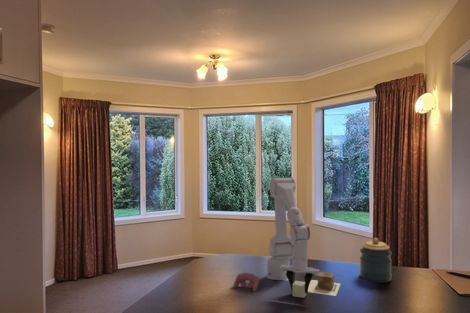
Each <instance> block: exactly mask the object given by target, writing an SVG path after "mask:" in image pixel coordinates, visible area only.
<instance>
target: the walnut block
mask: <svg viewBox="0 0 470 313" xmlns="http://www.w3.org/2000/svg"><path fill="white" fill-rule="evenodd" d="M317 281H318V288H320V289H327V290H332V289H333V287H334V283H335V273H334V272H326V271H319V276H317Z"/></svg>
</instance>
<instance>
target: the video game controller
mask: <svg viewBox="0 0 470 313" xmlns="http://www.w3.org/2000/svg"><path fill="white" fill-rule="evenodd" d="M247 281H249V282H247ZM259 282H260V278H259V277H258V276H256V274H253V273H251V272H241V273H239V274H237V275H236V278H235V280H234V282H233V289H237V288H238V286H239V285H240V286H241V287H243V288H246V287H248V288H249V289H252V291H253V292H256V291H257V288H258V286H259V285H258V284H259Z"/></svg>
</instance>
